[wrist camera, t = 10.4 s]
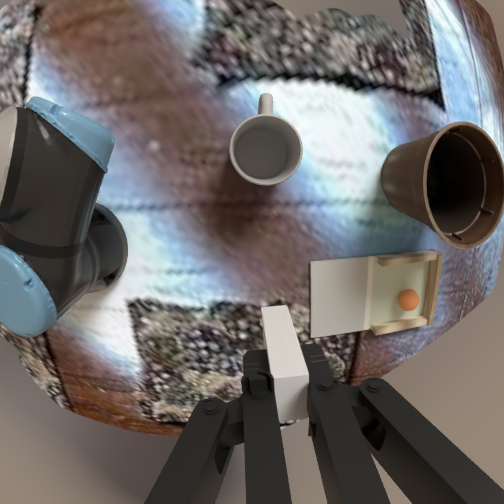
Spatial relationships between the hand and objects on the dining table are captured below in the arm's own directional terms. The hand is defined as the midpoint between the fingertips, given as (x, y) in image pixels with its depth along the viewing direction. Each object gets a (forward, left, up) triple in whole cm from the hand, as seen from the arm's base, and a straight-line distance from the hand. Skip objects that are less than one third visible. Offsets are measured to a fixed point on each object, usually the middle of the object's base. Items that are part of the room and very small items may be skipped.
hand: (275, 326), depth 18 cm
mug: (+2, +13, -30) cm, 32 cm away
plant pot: (+27, +7, -30) cm, 41 cm away
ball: (+26, -14, -27) cm, 40 cm away
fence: (+26, -13, -29) cm, 42 cm away
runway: (+20, -13, -29) cm, 38 cm away
